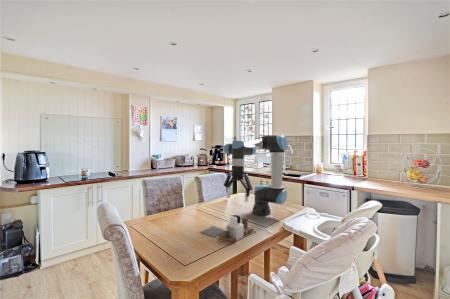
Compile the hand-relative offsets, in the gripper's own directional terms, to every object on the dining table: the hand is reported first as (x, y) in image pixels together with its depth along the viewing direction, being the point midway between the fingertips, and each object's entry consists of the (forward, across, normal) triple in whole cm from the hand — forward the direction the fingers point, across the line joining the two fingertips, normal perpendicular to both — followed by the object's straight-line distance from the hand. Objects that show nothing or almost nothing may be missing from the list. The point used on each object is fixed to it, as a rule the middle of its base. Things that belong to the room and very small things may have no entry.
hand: (237, 199), depth 132 cm
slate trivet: (+24, -17, -3) cm, 29 cm away
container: (+24, -2, +1) cm, 24 cm away
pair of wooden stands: (+24, -2, +2) cm, 24 cm away
